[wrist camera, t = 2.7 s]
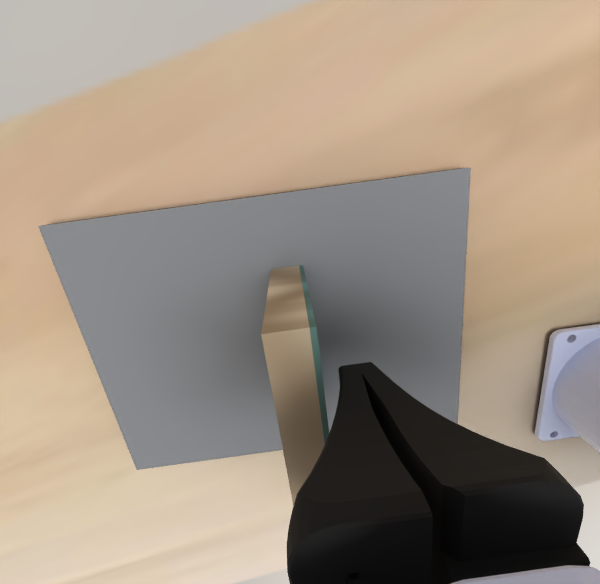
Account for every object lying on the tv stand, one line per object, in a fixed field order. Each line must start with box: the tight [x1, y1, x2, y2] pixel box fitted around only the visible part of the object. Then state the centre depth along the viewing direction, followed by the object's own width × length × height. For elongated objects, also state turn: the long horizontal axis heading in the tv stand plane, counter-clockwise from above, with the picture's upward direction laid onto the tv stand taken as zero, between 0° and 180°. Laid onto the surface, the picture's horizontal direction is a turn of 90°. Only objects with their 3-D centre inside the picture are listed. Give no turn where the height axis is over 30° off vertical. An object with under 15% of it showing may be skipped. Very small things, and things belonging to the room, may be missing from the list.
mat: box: [38, 168, 471, 470], centre depth 17 cm, size 20×15×1 cm
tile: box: [261, 265, 329, 505], centre depth 14 cm, size 2×8×7 cm, turn 7°
